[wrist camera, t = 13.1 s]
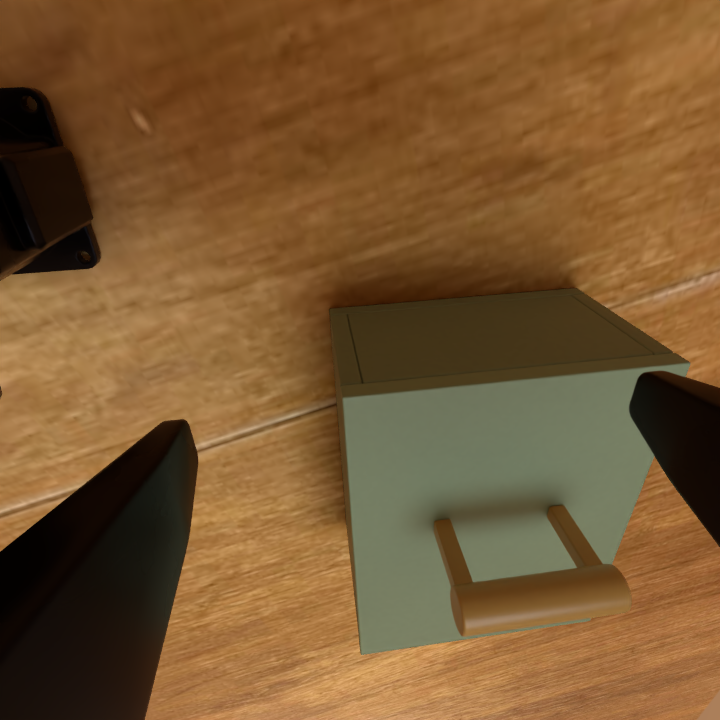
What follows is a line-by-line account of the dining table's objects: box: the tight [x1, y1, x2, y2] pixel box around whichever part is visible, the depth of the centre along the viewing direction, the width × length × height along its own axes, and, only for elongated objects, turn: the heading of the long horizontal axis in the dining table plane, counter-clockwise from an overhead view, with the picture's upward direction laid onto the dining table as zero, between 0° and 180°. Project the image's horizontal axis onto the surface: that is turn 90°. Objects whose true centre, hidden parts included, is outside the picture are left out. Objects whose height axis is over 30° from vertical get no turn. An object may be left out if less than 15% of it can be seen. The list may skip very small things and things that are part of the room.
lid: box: [341, 353, 690, 655], centre depth 18 cm, size 16×13×5 cm
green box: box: [329, 288, 673, 623], centre depth 23 cm, size 16×13×7 cm
